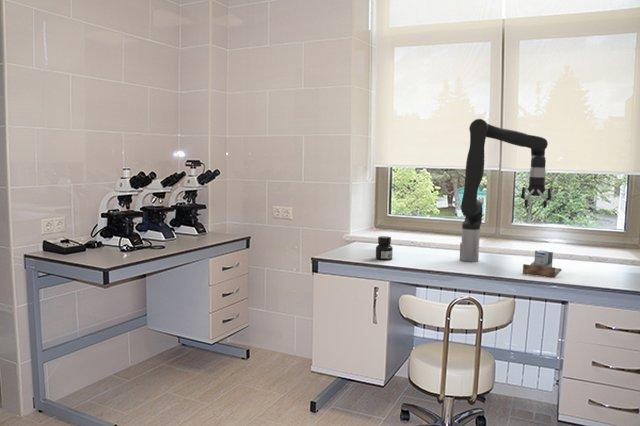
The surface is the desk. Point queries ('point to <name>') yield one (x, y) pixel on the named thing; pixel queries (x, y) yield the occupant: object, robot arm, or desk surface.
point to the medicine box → (541, 258)
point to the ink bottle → (384, 248)
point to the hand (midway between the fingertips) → (535, 207)
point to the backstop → (540, 270)
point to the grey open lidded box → (548, 260)
